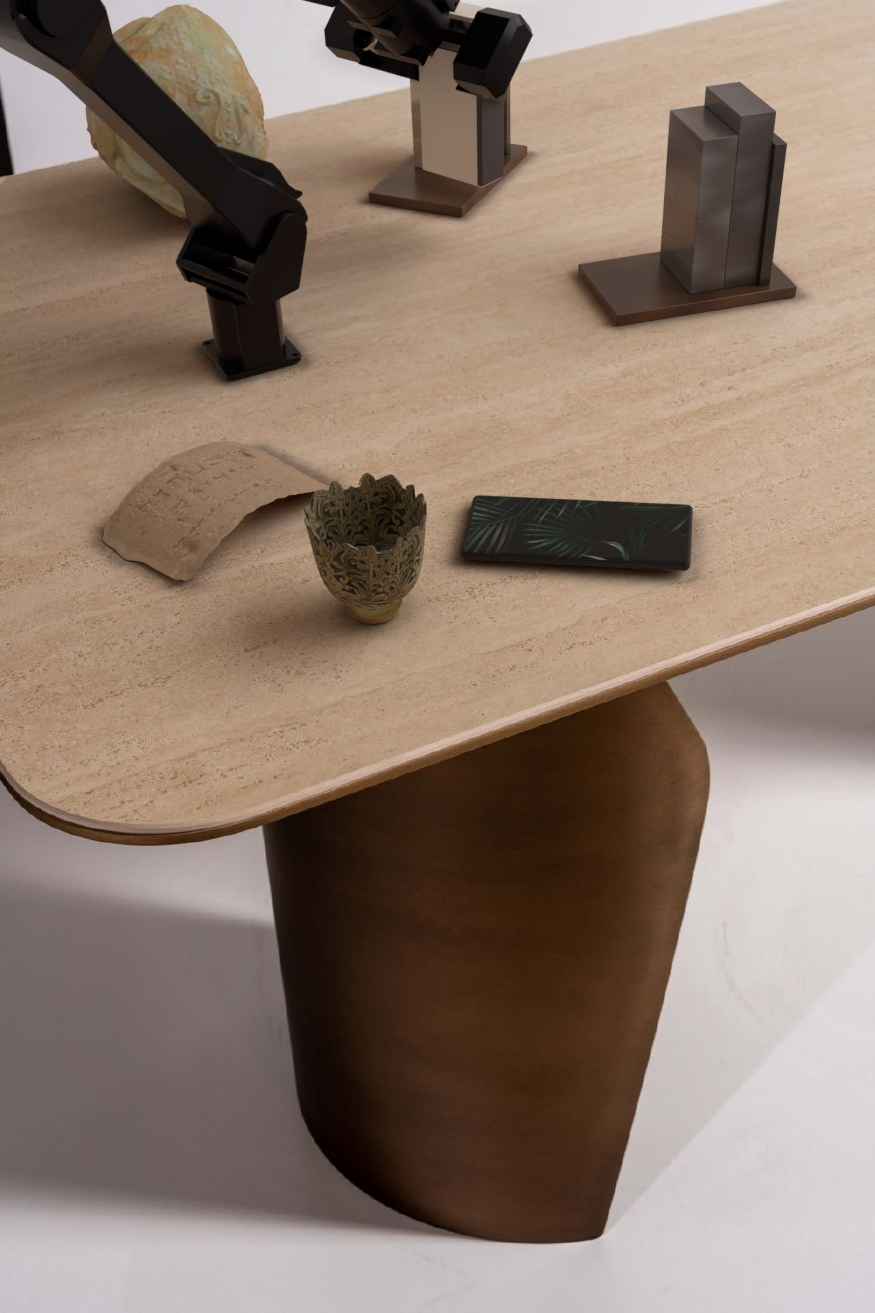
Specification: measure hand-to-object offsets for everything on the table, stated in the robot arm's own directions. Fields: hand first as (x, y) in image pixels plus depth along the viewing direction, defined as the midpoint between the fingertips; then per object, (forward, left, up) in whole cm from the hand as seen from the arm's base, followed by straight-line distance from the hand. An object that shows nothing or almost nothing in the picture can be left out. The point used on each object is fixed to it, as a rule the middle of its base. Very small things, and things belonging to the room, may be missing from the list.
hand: (471, 89), depth 123 cm
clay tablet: (-31, +36, -13) cm, 50 cm away
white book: (-1, +1, -7) cm, 7 cm away
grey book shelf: (-19, -11, -13) cm, 25 cm away
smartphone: (-46, +16, -13) cm, 51 cm away
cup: (-46, +31, -13) cm, 57 cm away
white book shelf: (+12, -4, -13) cm, 19 cm away
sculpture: (+22, +20, -13) cm, 33 cm away
